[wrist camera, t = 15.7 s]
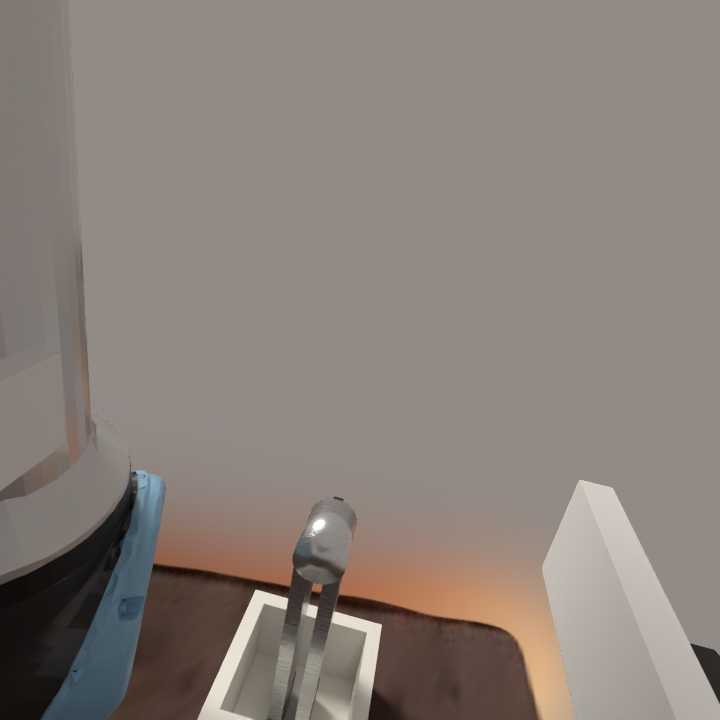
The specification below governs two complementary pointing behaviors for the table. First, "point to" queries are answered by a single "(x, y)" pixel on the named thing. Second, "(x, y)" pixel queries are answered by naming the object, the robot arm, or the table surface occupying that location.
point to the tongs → (311, 565)
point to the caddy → (259, 660)
